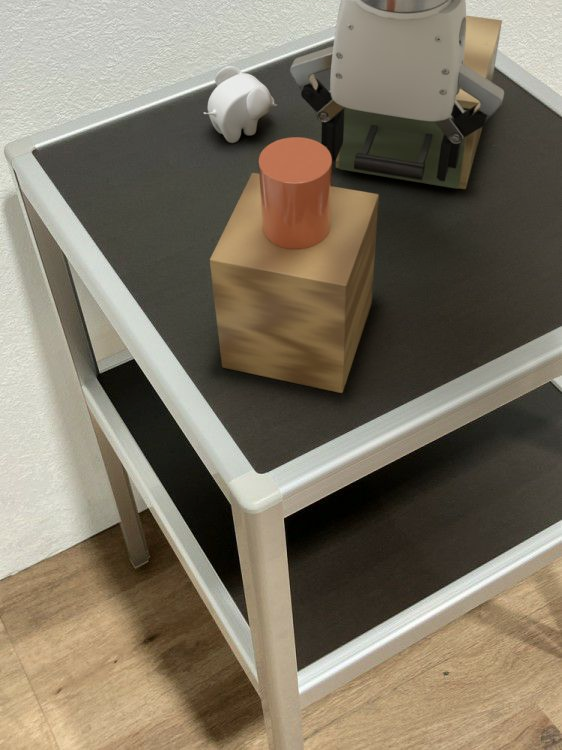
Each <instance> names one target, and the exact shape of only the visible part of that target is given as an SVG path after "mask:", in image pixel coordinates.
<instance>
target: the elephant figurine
mask: <svg viewBox="0 0 562 750" xmlns="http://www.w3.org/2000/svg"><path fill="white" fill-rule="evenodd" d="M214 82H215V84H216V87H215V88H214V89H213V91H211V94H210V95H209V98H208V102H207V112H205V111H204V112H203V115H208V117H209V119H210V122H211V124H212V126H213V128H214V129H215V131H216V132H217V133H218V134H221V135H223V137H224V138H225V140H226V141H227V142H228V143H231V144H234V143H237V142H239V140H240V139H241V135H242V131H243V133H244V135H245V136H254V135H255V134H256V132H257V127H258V121H259V119H260V118H262V117H264V116H265V115H267V114H268V113H269V111H270V110H271V109H272V108H273V107H276V106H278V104H276V103H275V98H274V97H273V96H272V95H271V93H270V91H269V89H268V87H267V86H266V85H265V84H263V83H262V82H261V81H260V80H259V79H257V78H256V76H254V75H252V74H250V73H244V72H243V71H242V70H240V69H239V68H238V67H237V66H234V65H228V66H225V67H223V68H222V69H220V70H219V71H218V72H217V73H216V75H215V78H214Z"/></svg>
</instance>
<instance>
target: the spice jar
mask: <svg viewBox="0 0 562 750" xmlns="http://www.w3.org/2000/svg"><path fill="white" fill-rule="evenodd" d="M258 174H259V176H260V194H261V212H262V229H263V232H264V234H265V236H266V237H267V238H268V239H269V240H270V241H271V242H272V243H274V244H276V245H278V246H280V247H284V248H288V249H303V248H308V247H312V246H314V245H316V244H318V243H320V242H321V241H323V240H324V239H325V238H326V237H327V235H328V234H329V232H330V228H331V188H332V186H333V185H332V184H333V183H332V181H333V179H332V178H333V162H332V157H331V154H330V152H329V150H328V149H327V147H325V146H324V145H322V144H321V143H320V142H319V141H317V140H314V139H311V138H307V137H301V136H297V137H296V136H295V137H294V136H293V137H286V138H281V139H277V140H274V141H273V142H271V143H270V144H267V145H266V146H265V147H264V149H262V151H261V152H260V154H259V157H258Z"/></svg>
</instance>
